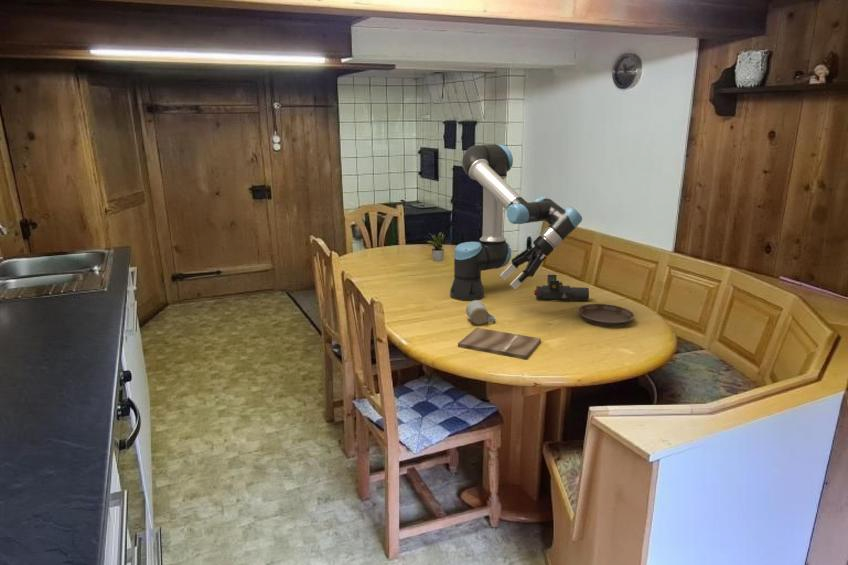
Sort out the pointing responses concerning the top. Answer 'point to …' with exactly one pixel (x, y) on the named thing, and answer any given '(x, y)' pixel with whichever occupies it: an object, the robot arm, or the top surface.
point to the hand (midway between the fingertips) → (507, 282)
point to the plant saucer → (605, 315)
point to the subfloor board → (500, 343)
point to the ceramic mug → (478, 313)
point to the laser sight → (560, 291)
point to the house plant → (437, 247)
